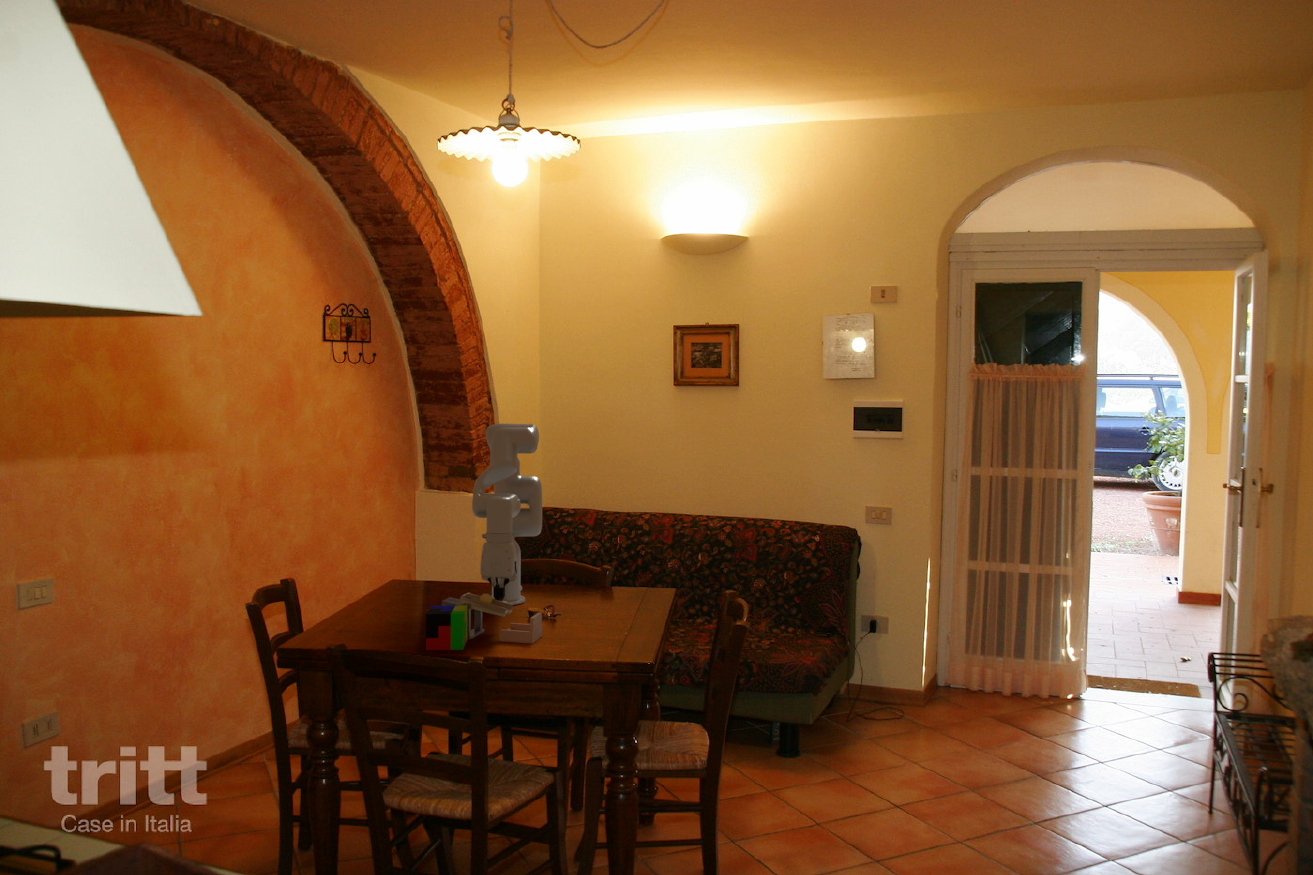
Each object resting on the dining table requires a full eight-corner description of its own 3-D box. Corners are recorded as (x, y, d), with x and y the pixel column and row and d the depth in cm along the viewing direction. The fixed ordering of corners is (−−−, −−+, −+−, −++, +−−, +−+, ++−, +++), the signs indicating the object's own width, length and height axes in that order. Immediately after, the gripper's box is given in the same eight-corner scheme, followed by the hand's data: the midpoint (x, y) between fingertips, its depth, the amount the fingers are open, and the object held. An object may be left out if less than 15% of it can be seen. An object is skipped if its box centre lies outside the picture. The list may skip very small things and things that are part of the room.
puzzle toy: (431, 640, 267) (431, 605, 266) (467, 640, 267) (467, 605, 267) (426, 650, 257) (426, 614, 256) (463, 649, 257) (463, 613, 257)
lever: (457, 605, 283) (460, 583, 283) (517, 620, 279) (520, 598, 279) (439, 614, 272) (442, 591, 271) (501, 630, 267) (505, 607, 267)
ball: (485, 590, 273) (496, 596, 273) (480, 600, 274) (491, 606, 273) (480, 592, 270) (491, 598, 269) (475, 603, 270) (486, 609, 270)
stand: (474, 630, 278) (474, 596, 278) (484, 631, 277) (484, 597, 277) (460, 638, 268) (460, 604, 268) (470, 639, 268) (470, 604, 267)
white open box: (511, 633, 275) (511, 609, 275) (542, 635, 273) (542, 612, 272) (499, 641, 267) (499, 616, 266) (532, 643, 264) (532, 618, 264)
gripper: (470, 539, 275) (470, 601, 275) (518, 541, 272) (518, 604, 272) (480, 535, 282) (480, 596, 283) (527, 537, 279) (527, 599, 279)
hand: (499, 600), depth 277 cm, fingers closed
